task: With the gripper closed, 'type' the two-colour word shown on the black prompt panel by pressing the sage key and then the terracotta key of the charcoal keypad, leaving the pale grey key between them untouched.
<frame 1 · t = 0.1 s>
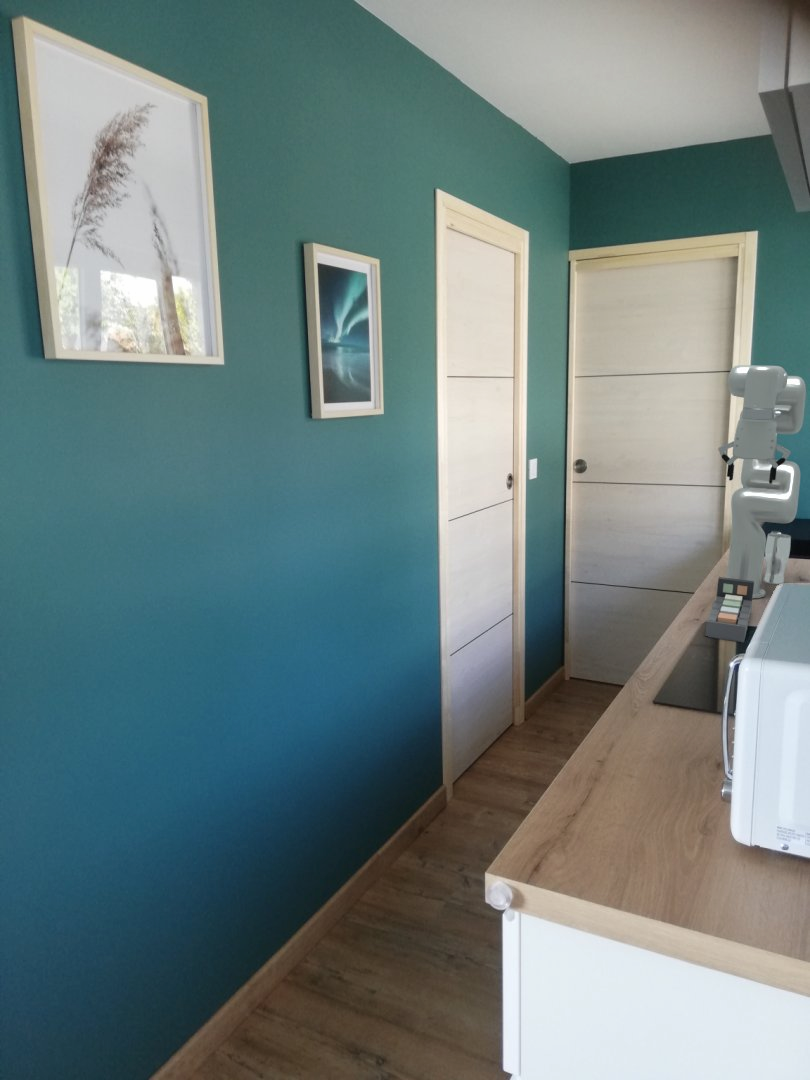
hand: (750, 481, 210), 37 cm above the countertop, tool pointing down, fingers open, 9 cm apart
key grey: (729, 612, 206), point 4 cm above the countertop, slide at 0.0 cm
key terracotta: (727, 619, 200), point 4 cm above the countertop, slide at 0.0 cm
keypad: (729, 624, 210), on the countertop
key sage: (731, 606, 211), point 4 cm above the countertop, slide at 0.0 cm
key cream: (733, 600, 217), point 4 cm above the countertop, slide at 0.0 cm
beer glass: (773, 582, 252), on the countertop
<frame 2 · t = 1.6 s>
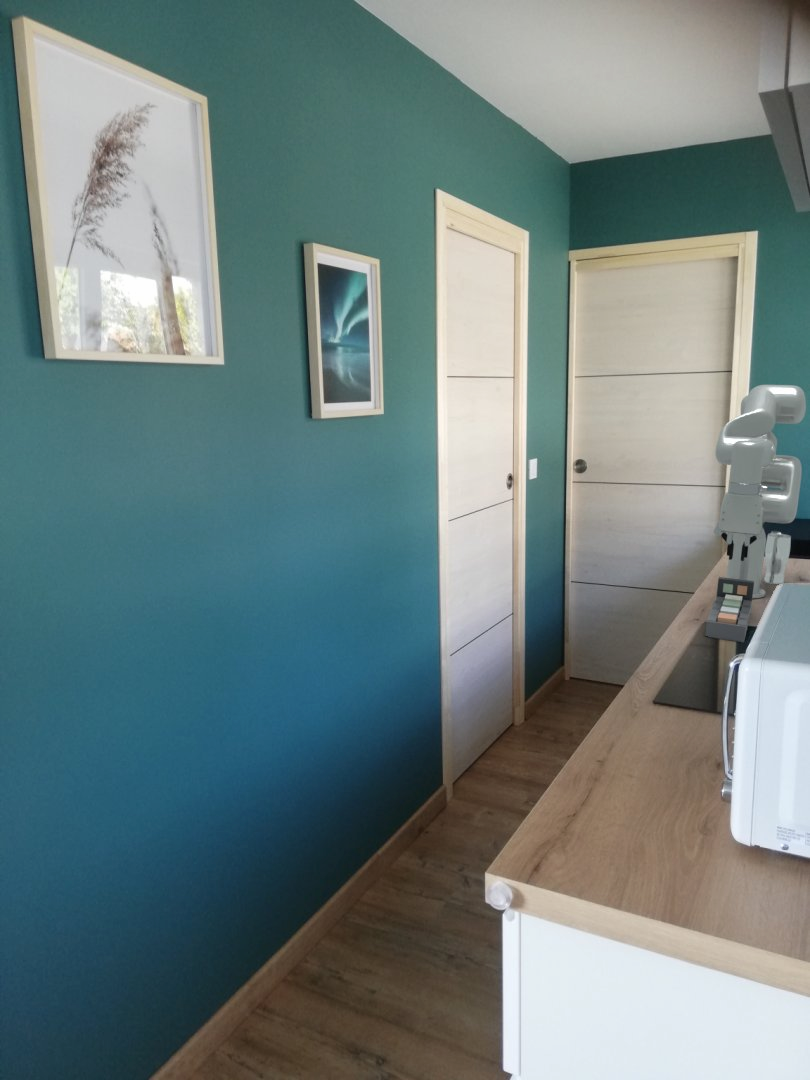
hand: (736, 558, 208), 17 cm above the countertop, tool pointing down, fingers closed
nothing on the countertop moved.
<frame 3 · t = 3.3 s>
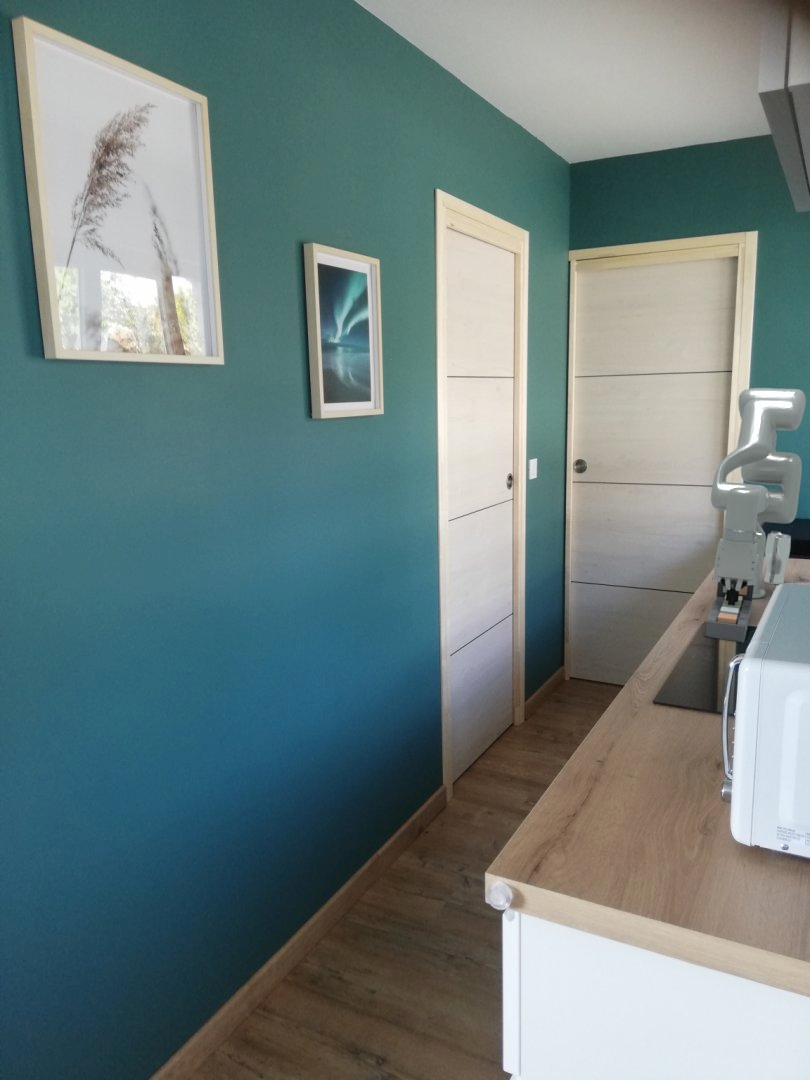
hand: (731, 603, 211), 5 cm above the countertop, tool pointing down, fingers closed
key sage: (731, 606, 211), point 4 cm above the countertop, slide at 0.1 cm, touching gripper
everything else where it was.
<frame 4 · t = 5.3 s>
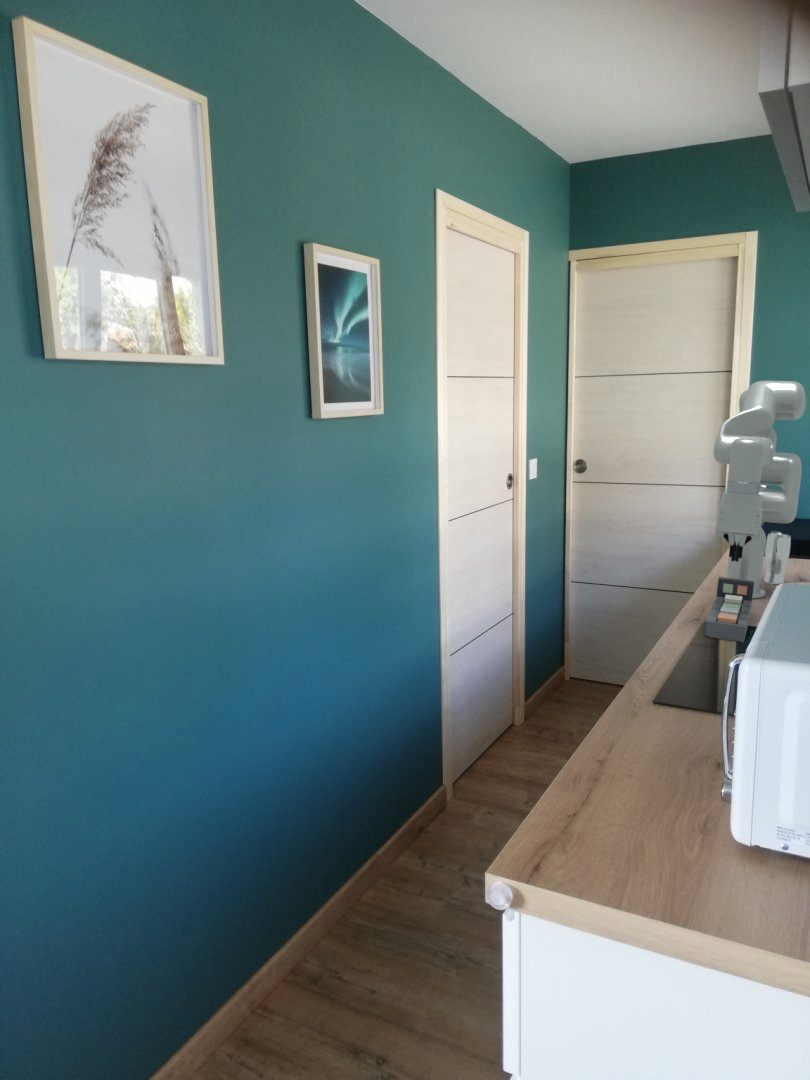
hand: (735, 560, 203), 18 cm above the countertop, tool pointing down, fingers closed
key sage: (731, 609, 211), point 3 cm above the countertop, slide at 0.9 cm
everything else where it was.
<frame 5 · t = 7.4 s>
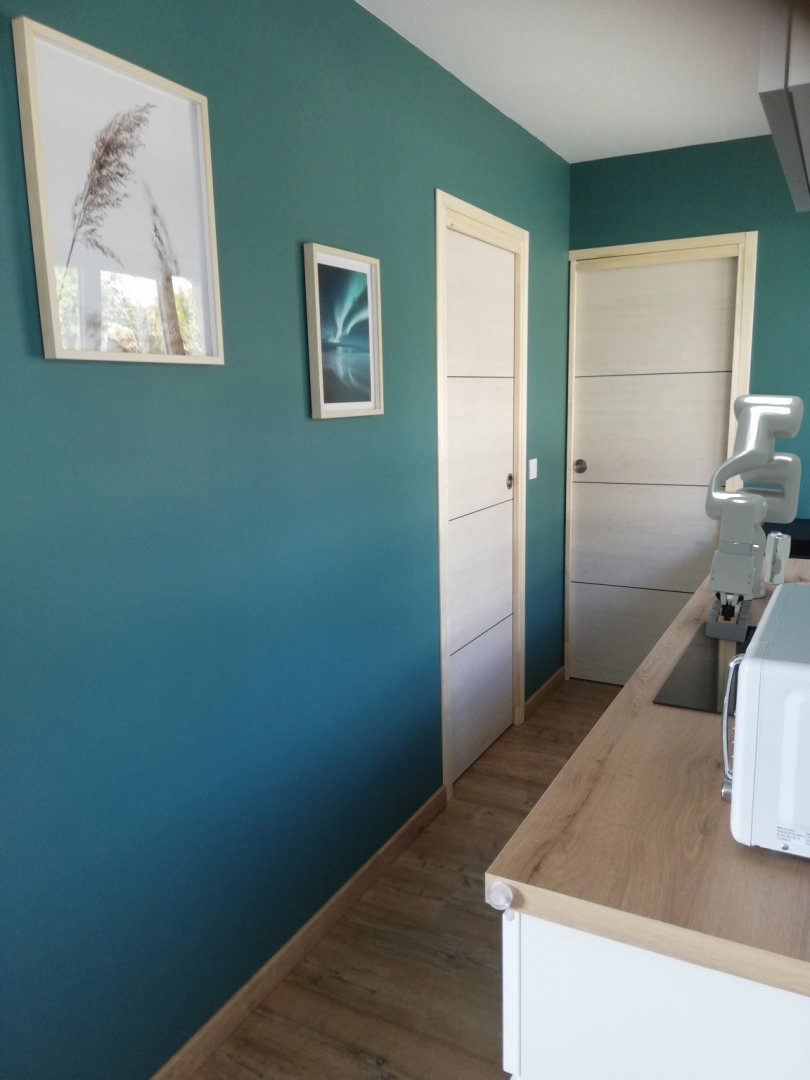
hand: (727, 619, 200), 4 cm above the countertop, tool pointing down, fingers closed
key terracotta: (726, 622, 200), point 4 cm above the countertop, slide at 0.8 cm, touching gripper
everything else where it was.
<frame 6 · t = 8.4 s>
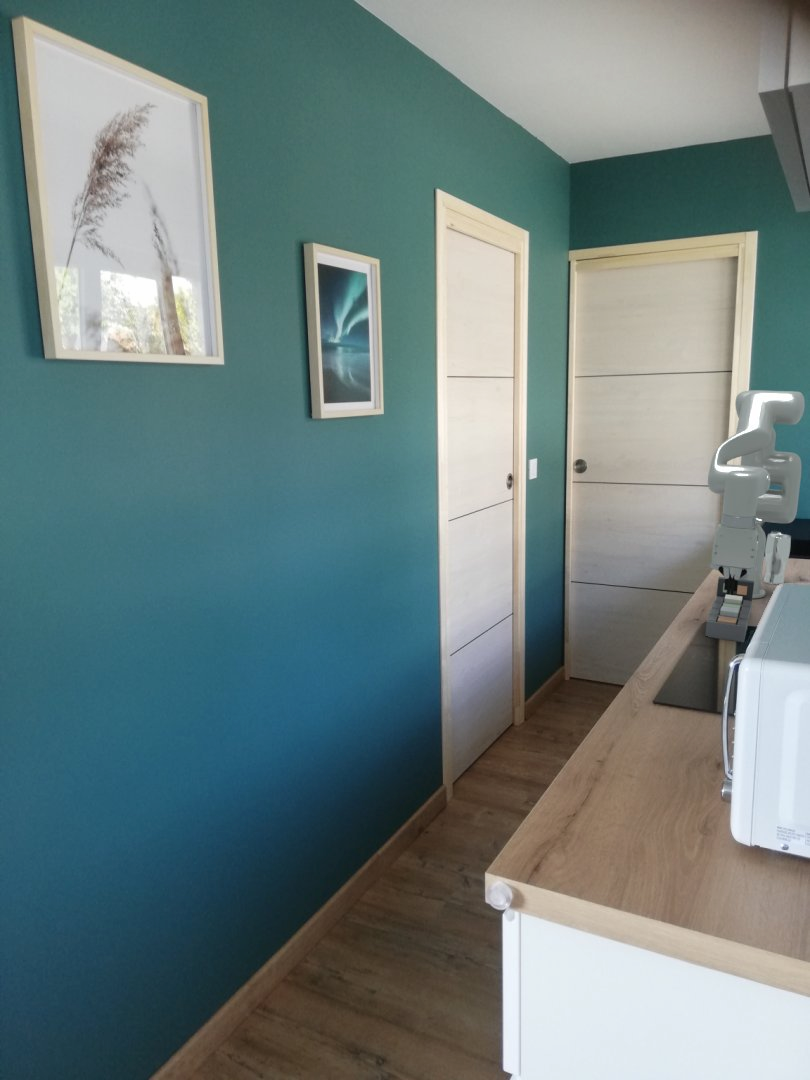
hand: (730, 593, 199), 11 cm above the countertop, tool pointing down, fingers closed
key terracotta: (726, 622, 200), point 3 cm above the countertop, slide at 0.8 cm
everything else where it was.
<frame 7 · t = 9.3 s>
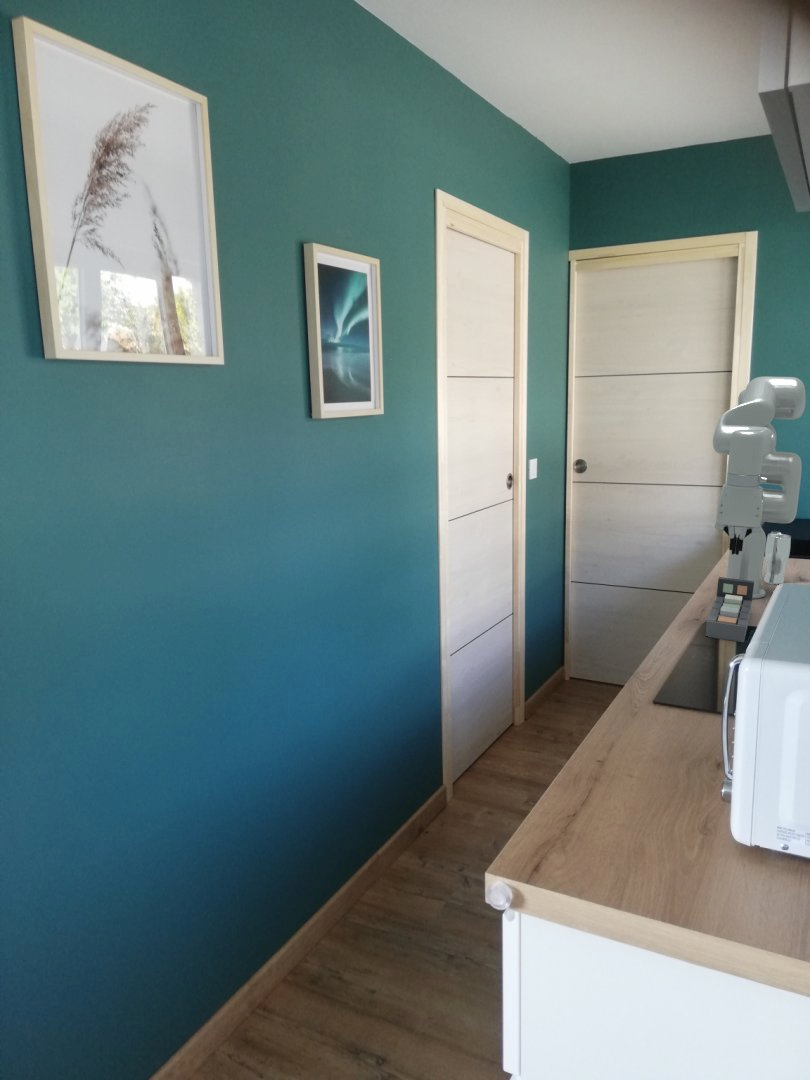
hand: (735, 553, 200), 20 cm above the countertop, tool pointing down, fingers closed
nothing on the countertop moved.
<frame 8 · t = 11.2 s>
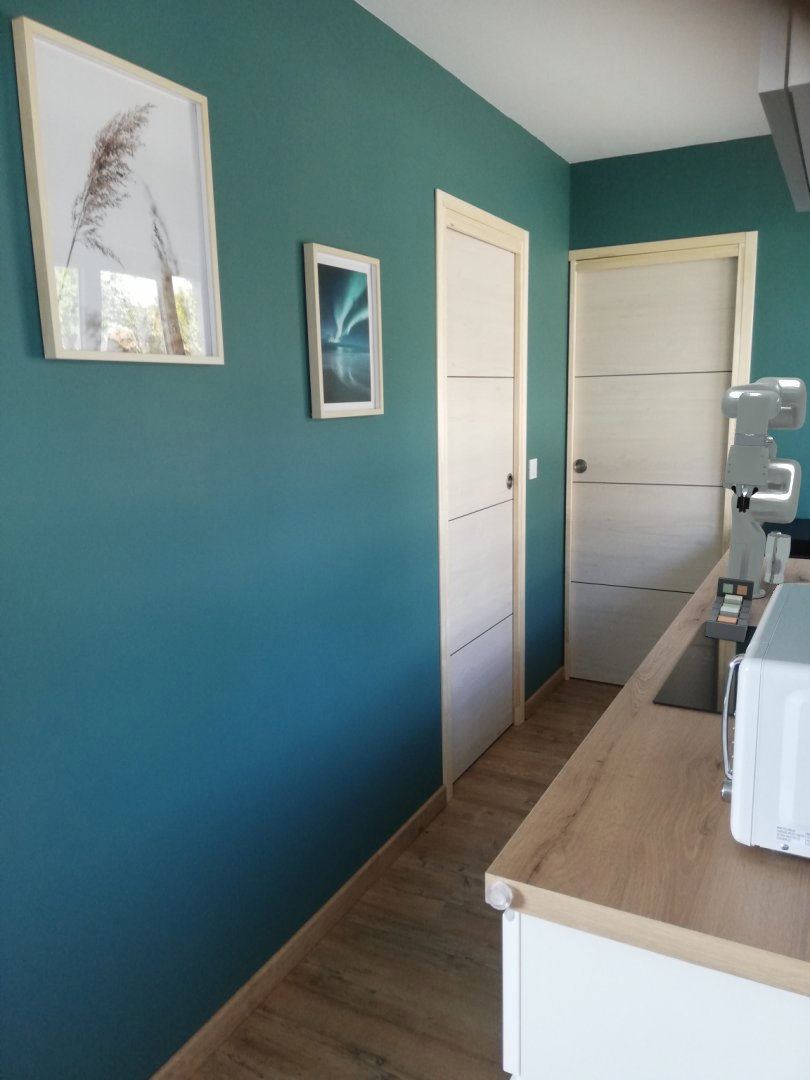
hand: (742, 511, 209), 29 cm above the countertop, tool pointing down, fingers closed
nothing on the countertop moved.
at the end: key sage slide at 0.9 cm; key terracotta slide at 0.8 cm; key grey slide at 0.0 cm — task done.
